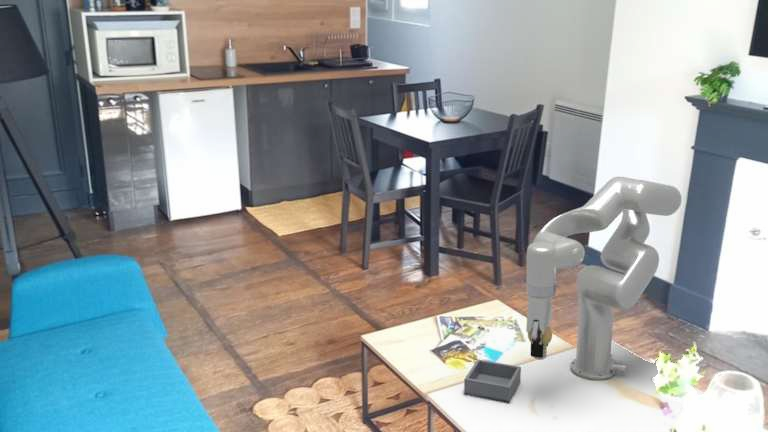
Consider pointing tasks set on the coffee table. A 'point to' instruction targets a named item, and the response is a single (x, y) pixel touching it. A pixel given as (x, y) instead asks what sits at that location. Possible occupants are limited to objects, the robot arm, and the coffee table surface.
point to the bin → (492, 381)
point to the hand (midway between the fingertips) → (539, 350)
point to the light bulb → (543, 341)
